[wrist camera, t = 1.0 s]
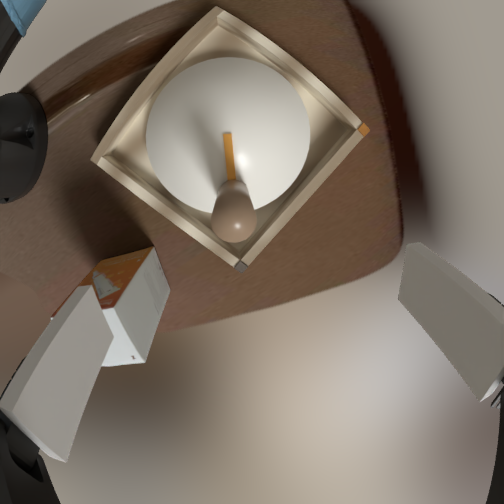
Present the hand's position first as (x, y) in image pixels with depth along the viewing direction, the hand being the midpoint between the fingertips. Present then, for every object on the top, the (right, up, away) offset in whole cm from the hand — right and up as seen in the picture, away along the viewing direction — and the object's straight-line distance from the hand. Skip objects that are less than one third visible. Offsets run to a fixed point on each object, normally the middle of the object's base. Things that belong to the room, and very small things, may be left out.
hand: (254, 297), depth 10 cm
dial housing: (-3, +14, +16) cm, 22 cm away
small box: (-15, -1, +22) cm, 26 cm away
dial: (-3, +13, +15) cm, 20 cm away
